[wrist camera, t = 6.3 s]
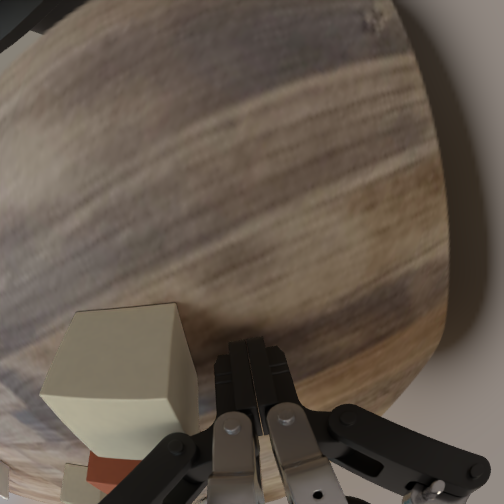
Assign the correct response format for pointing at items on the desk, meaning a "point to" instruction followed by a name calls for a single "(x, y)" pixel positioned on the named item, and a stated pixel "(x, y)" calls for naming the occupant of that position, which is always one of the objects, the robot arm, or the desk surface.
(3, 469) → the bracket
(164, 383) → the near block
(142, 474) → the robot arm
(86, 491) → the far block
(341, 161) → the desk surface
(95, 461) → the block
